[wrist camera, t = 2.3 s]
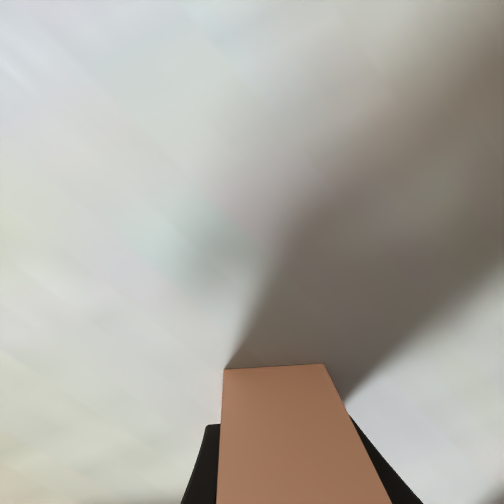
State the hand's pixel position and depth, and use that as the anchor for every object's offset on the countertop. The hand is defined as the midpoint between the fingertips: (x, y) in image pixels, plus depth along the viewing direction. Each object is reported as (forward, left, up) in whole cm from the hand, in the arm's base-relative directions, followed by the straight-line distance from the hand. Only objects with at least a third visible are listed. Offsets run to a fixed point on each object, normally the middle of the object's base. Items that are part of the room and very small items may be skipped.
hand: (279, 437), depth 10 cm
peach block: (0, 0, -1) cm, 1 cm away
